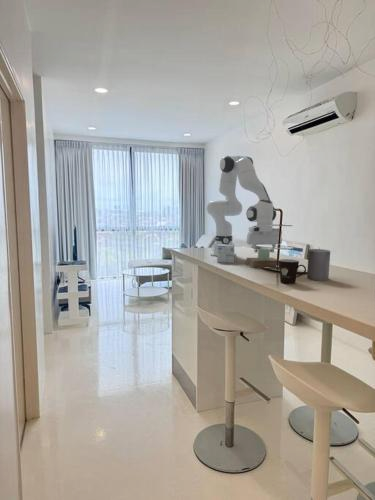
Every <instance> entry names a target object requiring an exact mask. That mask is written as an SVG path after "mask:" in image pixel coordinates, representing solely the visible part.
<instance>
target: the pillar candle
mask: <svg viewBox="0 0 375 500" xmlns="http://www.w3.org/2000/svg"><path fill="white" fill-rule="evenodd" d="M307 255H308V257H307V268H306V271H307V272H306V279H308V280H310V281H311V280H313V281H318V282H319V281H320V282H321V281H324V282H325V281H328V280H329V278H330V277H329V275H330V261H331V250H329V249H323V248H321V247H318V248H311V249H308V254H307Z"/></svg>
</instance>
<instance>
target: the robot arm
mask: <svg viewBox="0 0 375 500" xmlns="http://www.w3.org/2000/svg"><path fill="white" fill-rule="evenodd" d="M219 168H220V171H221V173H220V179H219V180H220V181H219V189H218V191H219V193H220V194H221V195H222V196H223V197H225V199H222V200H221V199H217V200H215V199H214V200H211V201H208V203H207V204H206V212H207V213H208V214H209V216H211V217H212V219H213V220H214V223H215V229H216V230H215V231H216V232H215V234H216V235H215V237H214V239H215V241H214V243H213V244H212V245H211V246H210V247H211V248H210V249H211V250H212V251H210V253H209V254H210V255H209V256H214V257H217V245H218V244H220V245H234V246H235V243H234V242H233V225H232V223H231V222H229V221H228V220H226V217H235V216H239V215H241V214H242V212H243V205H242V203H241V201H240V200H239V199H238V197H237V195H236V194H237V193H236V187H237V180H238V183H239V186H240V187H241V188H242V189H244V190H246V191H249V192H251V193H254V194H255V196H257V197H258V199H259V200H258V202H257V203H255V204H253V205H250V206H249V207H247V210H246V214H245V215H246V218H247V220H248V221H249V222H251V223H256V224H255V225H253V226H250V227H248V232H247V235H246V244H247V245H249V246H251V245H252V248H253V249H254V250H253V252H254V253H258V249H259V248H258V249H257V248H256V247H257V245H258V246H259V245H265V246H267V245H271V248H269V249H270V253H274V250H275V248H276V245H281V244H282V243H283V237H282V235H283V230H282V229H281V238H280V244H278V237H279V229H280V228H275V227H274V228H273V226H274V225H273V223H274V222H273V221H274V220H276V217H277V211H274V209H275V207H274V204H273V201H272V200H271V199H270V196H269V194H268V192H267V188H266V187H265V185H264V184H263V183H262V181H260V178H259V177H258V175H257V173H256V169H255V166H254V160H253V158H252V157H250V156H244V155H226V156H223V157H222V158H221V159H220V162H219ZM275 210H276V209H275ZM270 225H273V226H270ZM234 256H237V253H236V252H234Z"/></svg>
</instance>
